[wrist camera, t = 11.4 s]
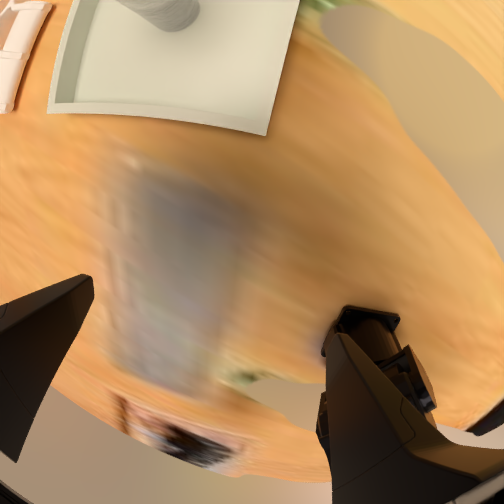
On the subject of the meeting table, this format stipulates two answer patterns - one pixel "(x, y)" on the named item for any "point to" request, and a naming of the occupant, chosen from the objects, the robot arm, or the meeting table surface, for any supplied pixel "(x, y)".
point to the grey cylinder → (165, 12)
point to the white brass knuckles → (17, 43)
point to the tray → (174, 63)
